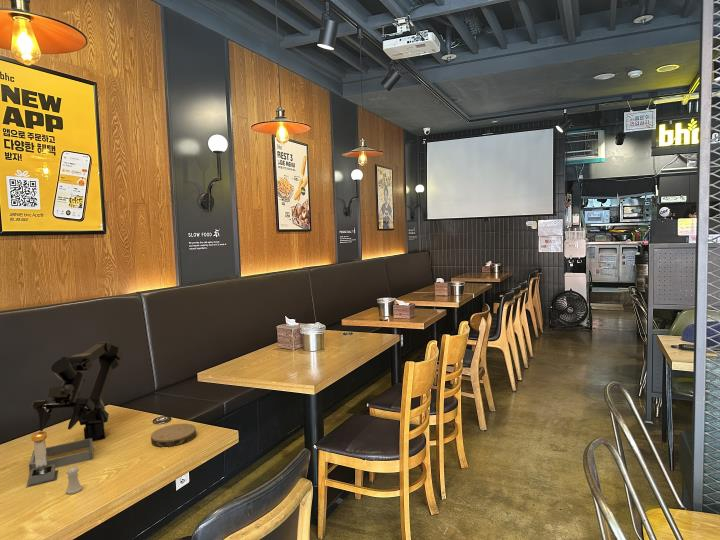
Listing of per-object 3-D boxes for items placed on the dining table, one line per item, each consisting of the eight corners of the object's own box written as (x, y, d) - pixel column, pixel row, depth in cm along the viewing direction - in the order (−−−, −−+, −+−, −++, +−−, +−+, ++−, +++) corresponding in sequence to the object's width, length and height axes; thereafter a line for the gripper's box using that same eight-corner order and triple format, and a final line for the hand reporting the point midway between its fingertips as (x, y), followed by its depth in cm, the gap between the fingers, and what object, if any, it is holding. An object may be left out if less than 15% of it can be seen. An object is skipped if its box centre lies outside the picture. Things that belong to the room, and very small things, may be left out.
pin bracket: (58, 473, 157) (57, 462, 157) (57, 483, 150) (56, 472, 150) (29, 479, 153) (28, 469, 153) (26, 490, 146) (25, 479, 146)
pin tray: (92, 448, 175) (92, 437, 175) (93, 461, 164) (92, 450, 164) (34, 461, 166) (33, 450, 166) (30, 476, 155) (29, 464, 155)
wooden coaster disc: (169, 451, 170) (168, 443, 170) (142, 443, 179) (141, 435, 178) (205, 435, 184) (204, 427, 183) (178, 428, 192) (177, 421, 192)
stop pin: (50, 474, 154) (46, 430, 153) (49, 479, 151) (45, 434, 150) (35, 477, 152) (31, 433, 151) (34, 483, 149) (30, 437, 148)
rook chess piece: (70, 490, 145) (68, 465, 144) (85, 489, 145) (83, 464, 145) (62, 498, 140) (60, 472, 140) (78, 497, 141) (76, 471, 140)
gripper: (32, 377, 163) (12, 421, 152) (87, 374, 164) (72, 418, 153) (48, 393, 171) (30, 435, 161) (100, 390, 172) (87, 432, 162)
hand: (54, 430), depth 159 cm, fingers open, 9 cm apart
